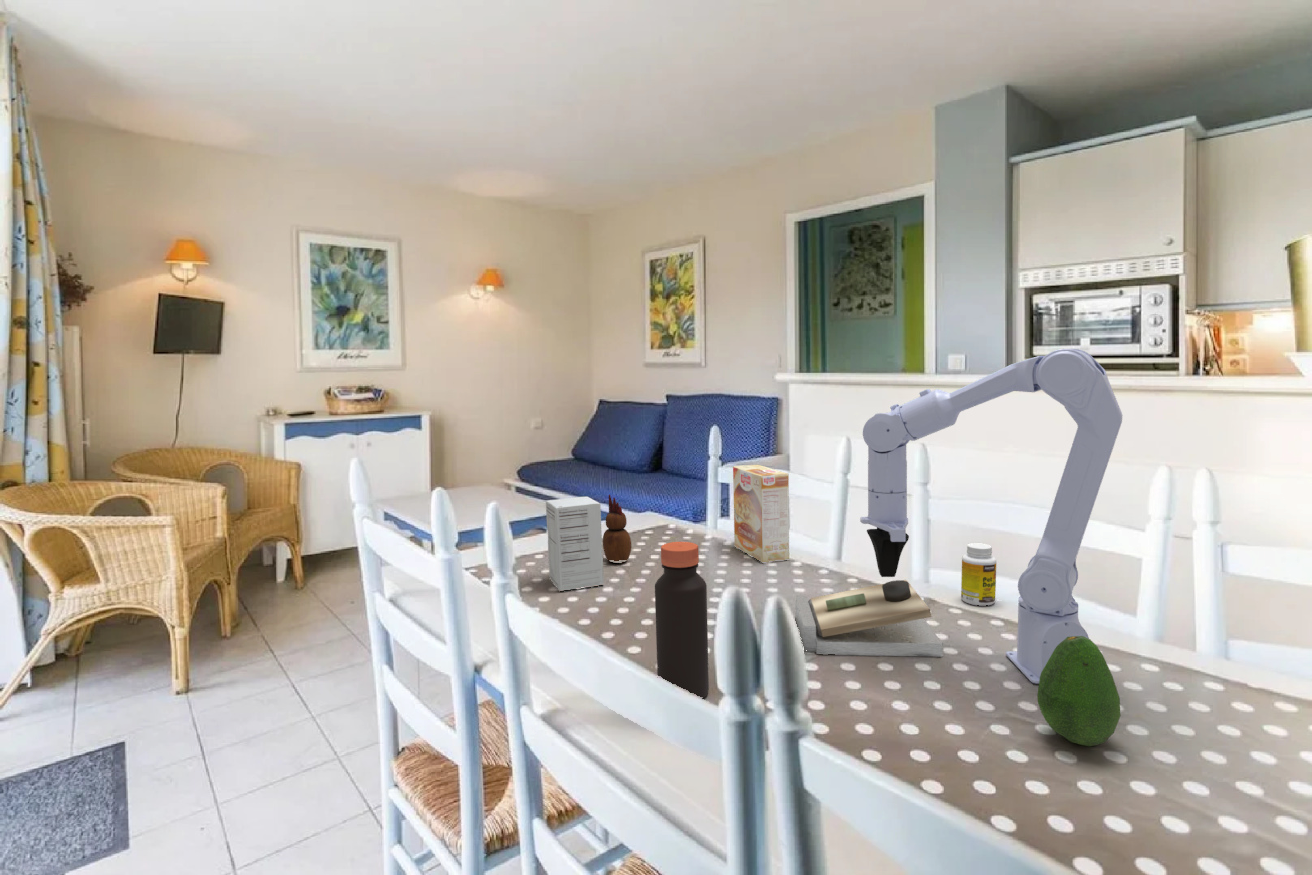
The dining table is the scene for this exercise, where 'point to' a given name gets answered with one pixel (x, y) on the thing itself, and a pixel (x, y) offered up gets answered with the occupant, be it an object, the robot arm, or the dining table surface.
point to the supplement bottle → (978, 575)
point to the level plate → (867, 608)
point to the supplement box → (574, 542)
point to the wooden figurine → (616, 534)
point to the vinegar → (682, 619)
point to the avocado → (1079, 693)
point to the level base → (869, 637)
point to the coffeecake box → (761, 512)
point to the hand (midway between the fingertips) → (887, 575)
